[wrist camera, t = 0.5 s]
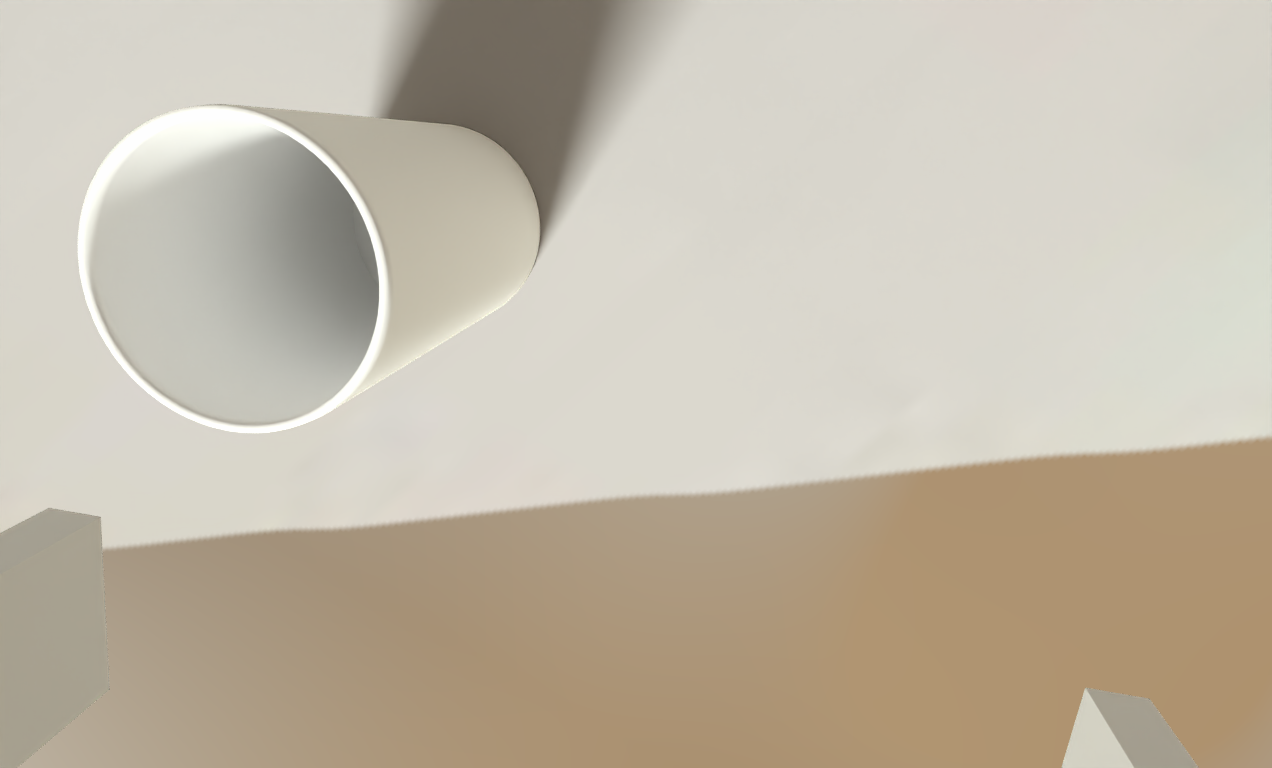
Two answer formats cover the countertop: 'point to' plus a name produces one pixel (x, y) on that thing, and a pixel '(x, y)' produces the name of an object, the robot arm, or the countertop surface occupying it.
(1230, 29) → the countertop surface
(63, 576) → the robot arm
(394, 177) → the cup
